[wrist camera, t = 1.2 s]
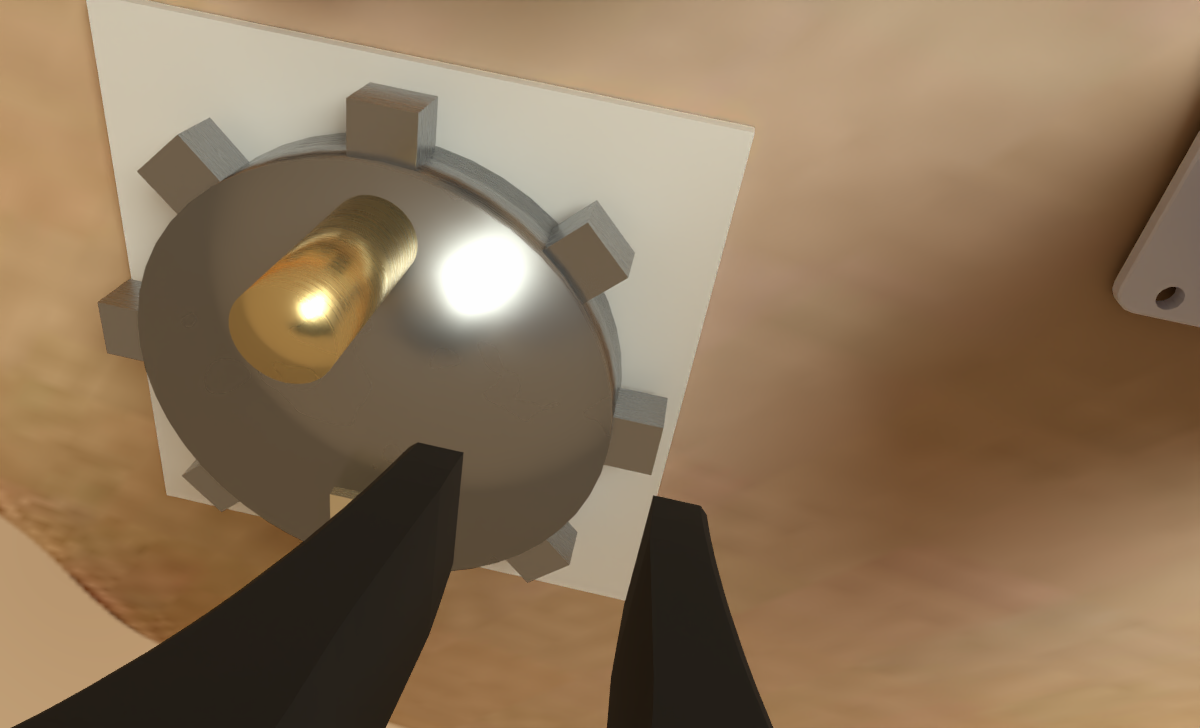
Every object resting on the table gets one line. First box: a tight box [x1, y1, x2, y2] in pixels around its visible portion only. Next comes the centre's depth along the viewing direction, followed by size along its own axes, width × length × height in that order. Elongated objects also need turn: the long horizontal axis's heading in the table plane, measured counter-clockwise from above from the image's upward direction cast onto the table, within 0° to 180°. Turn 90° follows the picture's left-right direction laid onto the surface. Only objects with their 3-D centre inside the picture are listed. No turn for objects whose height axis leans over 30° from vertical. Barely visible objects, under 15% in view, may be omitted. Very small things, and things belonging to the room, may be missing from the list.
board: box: [86, 0, 755, 601], centre depth 21 cm, size 14×14×1 cm
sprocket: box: [98, 82, 668, 583], centre depth 18 cm, size 13×13×6 cm
